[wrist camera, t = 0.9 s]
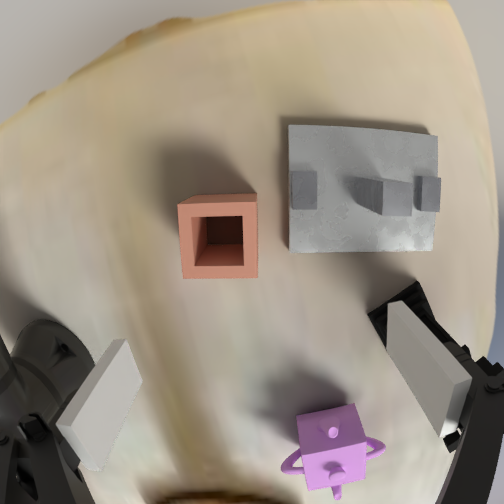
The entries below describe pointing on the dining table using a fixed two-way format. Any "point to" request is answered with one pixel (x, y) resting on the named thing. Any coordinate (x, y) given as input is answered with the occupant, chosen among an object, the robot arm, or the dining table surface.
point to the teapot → (332, 449)
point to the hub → (218, 256)
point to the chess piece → (422, 310)
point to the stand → (361, 189)
